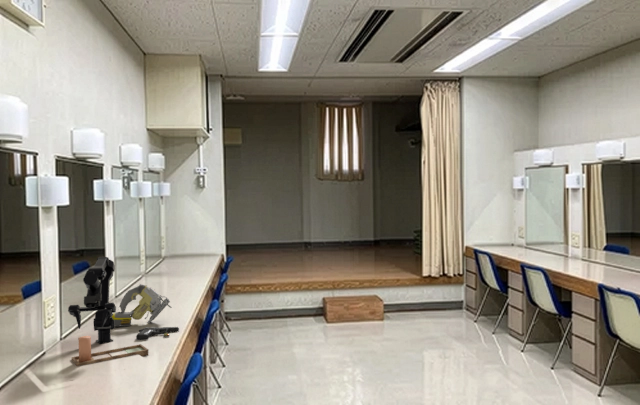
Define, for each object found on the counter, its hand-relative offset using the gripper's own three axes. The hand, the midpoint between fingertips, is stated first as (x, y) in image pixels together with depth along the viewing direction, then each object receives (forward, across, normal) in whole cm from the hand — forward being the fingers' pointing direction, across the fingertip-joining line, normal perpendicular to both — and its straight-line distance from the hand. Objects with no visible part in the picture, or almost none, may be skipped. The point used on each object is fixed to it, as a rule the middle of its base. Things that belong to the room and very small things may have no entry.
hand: (90, 327), depth 219 cm
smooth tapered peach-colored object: (+13, -2, +5) cm, 14 cm away
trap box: (+12, +8, +10) cm, 17 cm away
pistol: (-6, +25, +38) cm, 46 cm away
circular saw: (-22, +14, +62) cm, 67 cm away
